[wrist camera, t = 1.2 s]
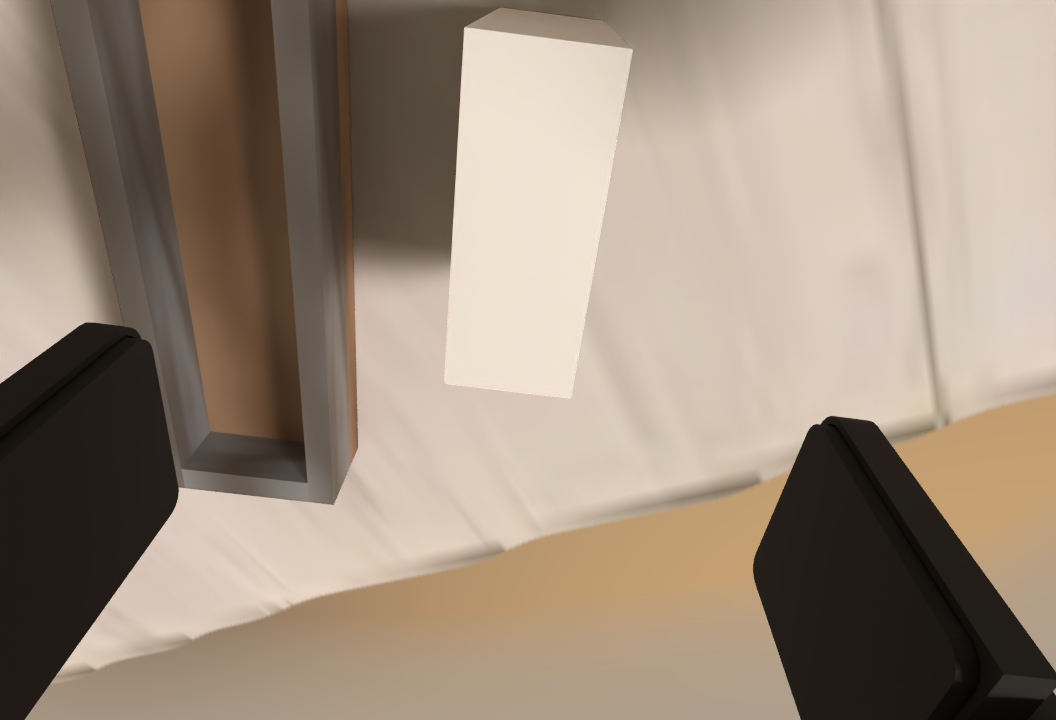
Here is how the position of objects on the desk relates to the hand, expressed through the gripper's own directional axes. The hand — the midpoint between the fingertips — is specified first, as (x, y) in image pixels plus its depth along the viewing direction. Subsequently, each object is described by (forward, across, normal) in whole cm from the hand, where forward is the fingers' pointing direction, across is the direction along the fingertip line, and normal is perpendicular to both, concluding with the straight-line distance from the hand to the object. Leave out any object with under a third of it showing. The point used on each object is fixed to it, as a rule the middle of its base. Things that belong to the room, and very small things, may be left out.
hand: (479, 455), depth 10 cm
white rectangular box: (+21, 0, 0) cm, 21 cm away
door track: (+21, +12, +3) cm, 24 cm away
